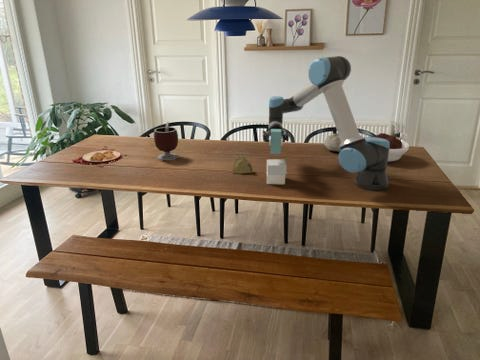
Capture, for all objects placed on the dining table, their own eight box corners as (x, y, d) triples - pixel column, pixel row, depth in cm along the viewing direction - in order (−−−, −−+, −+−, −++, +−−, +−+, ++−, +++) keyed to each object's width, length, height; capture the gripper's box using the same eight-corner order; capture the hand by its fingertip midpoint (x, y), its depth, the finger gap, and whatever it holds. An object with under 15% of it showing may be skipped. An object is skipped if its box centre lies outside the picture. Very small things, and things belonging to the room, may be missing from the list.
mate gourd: (177, 161, 223) (174, 127, 215) (153, 161, 223) (150, 127, 216) (181, 153, 237) (179, 121, 230) (159, 153, 237) (156, 121, 230)
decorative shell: (346, 156, 226) (347, 140, 223) (318, 151, 237) (319, 135, 233) (357, 149, 240) (359, 133, 236) (331, 144, 250) (332, 129, 246)
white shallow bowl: (399, 152, 231) (403, 128, 226) (412, 166, 208) (417, 139, 203) (357, 152, 234) (360, 128, 228) (365, 165, 211) (368, 139, 205)
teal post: (280, 150, 188) (281, 129, 184) (280, 153, 184) (281, 131, 180) (270, 150, 189) (270, 129, 185) (270, 153, 184) (270, 131, 180)
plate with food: (71, 163, 224) (70, 157, 223) (104, 150, 245) (103, 145, 244) (102, 169, 214) (101, 163, 213) (132, 155, 235) (132, 150, 234)
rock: (257, 166, 205) (241, 161, 210) (254, 157, 198) (238, 152, 202) (248, 182, 201) (232, 176, 205) (245, 173, 194) (228, 168, 198)
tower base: (284, 178, 195) (284, 168, 194) (284, 184, 187) (285, 175, 185) (266, 177, 196) (266, 168, 194) (266, 184, 188) (266, 174, 186)
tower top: (284, 168, 194) (284, 159, 192) (286, 174, 185) (286, 165, 184) (266, 168, 194) (266, 159, 192) (267, 175, 186) (267, 165, 184)
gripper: (292, 137, 201) (294, 150, 180) (258, 136, 202) (256, 149, 181) (293, 123, 198) (295, 134, 177) (258, 123, 200) (256, 134, 178)
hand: (275, 142), depth 179 cm, fingers closed on teal post, 5 cm apart
